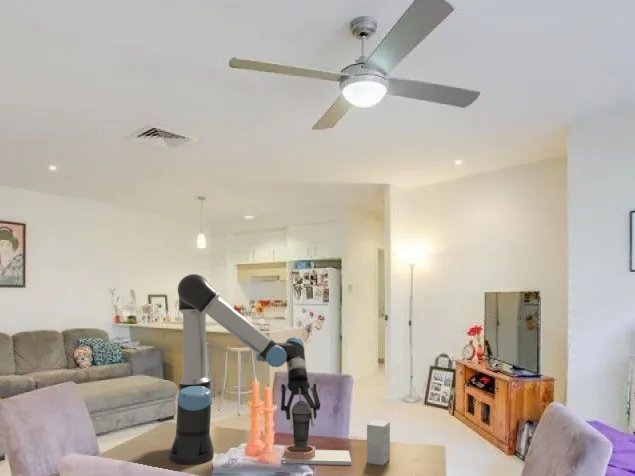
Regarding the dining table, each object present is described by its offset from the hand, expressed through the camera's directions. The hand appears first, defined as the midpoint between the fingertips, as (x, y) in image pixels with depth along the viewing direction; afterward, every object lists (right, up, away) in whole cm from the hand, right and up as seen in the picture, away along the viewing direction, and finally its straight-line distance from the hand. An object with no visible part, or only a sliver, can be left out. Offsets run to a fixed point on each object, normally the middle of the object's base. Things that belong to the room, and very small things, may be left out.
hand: (302, 426), depth 171 cm
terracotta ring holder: (-1, -11, +2) cm, 11 cm away
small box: (+27, -13, +1) cm, 30 cm away
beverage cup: (-1, -8, +2) cm, 8 cm away
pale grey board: (+5, -12, +2) cm, 13 cm away
